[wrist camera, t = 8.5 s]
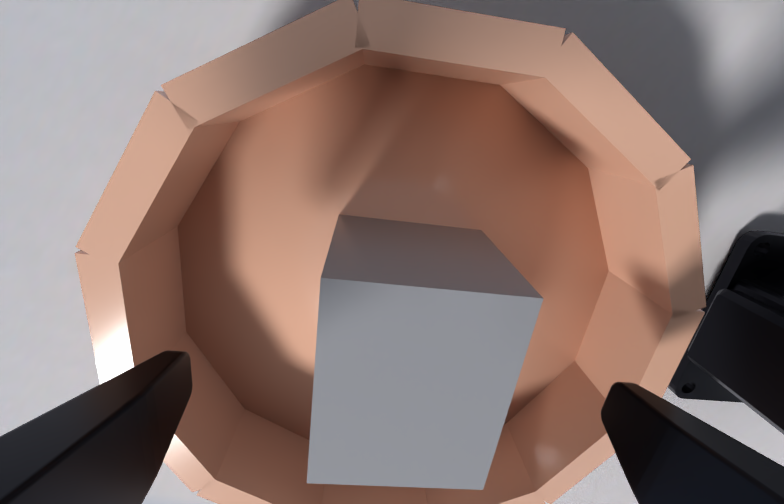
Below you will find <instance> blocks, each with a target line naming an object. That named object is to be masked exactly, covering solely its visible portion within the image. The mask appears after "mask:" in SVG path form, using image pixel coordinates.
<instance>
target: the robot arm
mask: <svg viewBox="0 0 784 504" xmlns="http://www.w3.org/2000/svg"><path fill="white" fill-rule="evenodd" d="M703 311H704V312H705V314H704V316H703V317H702V319H701V321H700V323H699V325H698V327H697V329H696V331H695V333H694V335H693V337H692V339H691V341H690V343H689V345H688V347H687V349H686V351H685V353H684V355H683V357H682V359H681V361H680V363H679V365H678V367H677V369H676V371H675V373H674V375H673V377H672V379H671V381H670V383H669V385H668V388H669V389H670V390H671V391H672V392H674V393H675V394H676V395H677V396H678V397H679V398H684V399H699V400H714V401H729V402H743V403H745V404H746V405H747V406H748V407H750V408H751V409H752V410H754V411H755V412H756V413H757V414H759V415H760V416H761V417H762V418H764V419H765V420H766V421H767V422H769V423H770V424H771V425H772V426H774V427H775V428H776V429H778V430H779V431H780V432H781V433H783V434H784V234H781V233H773V232H765V231H750V232H748V233H746V234H744V235H743V236H742V237H741V238H740V239H739V240H738V241H737V243H736V244H735V246H734V248H733V250H732V252H731V254H730V256H729V258H728V260H727V262H726V264H725V266H724V268H723V270H722V272H721V274H720V276H719V278H718V280H717V282H716V284H715V286H714V288H713V290H712V292H711V294H710V296H709V298H708V300H707V302H706V307H705V308H703ZM192 386H193V384H192V371H191V359H190V355H189V353H187V352H185V351H173V350H166V351H163V352H161V353H159V354H157V355H155V356H154V357H152V358H150V359H148V360H146V361H144V362H142V363H140V364H138V365H136V366H134V367H132V368H131V369H129V370H127V371H125V372H123V373H121V374H119V375H117V376H115V377H113V378H111V379H110V380H108V381H106V382H104V383H102V384H100V385H98V386H96V387H94V388H92V389H90V390H88V391H87V392H85V393H83V394H81V395H79V396H77V397H75V398H73V399H71V400H69V401H67V402H65V403H64V404H62V405H60V406H58V407H56V408H54V409H52V410H50V411H48V412H46V413H44V414H42V415H41V416H39V417H37V418H35V419H33V420H31V421H29V422H27V423H25V424H23V425H21V426H19V427H18V428H16V429H14V430H12V431H10V432H8V433H6V434H4V435H2V436H0V504H142V502H143V501H144V499H145V497H146V495H147V493H148V491H149V490H150V488H151V486H152V484H153V482H154V480H155V478H156V476H157V474H158V472H159V469H160V467H161V465H162V463H163V460H164V458H165V456H166V453H167V451H168V449H169V446H170V444H171V442H172V439H173V437H174V434H175V432H176V430H177V427H178V425H179V423H180V420H181V418H182V415H183V413H184V411H185V408H186V406H187V404H188V401H189V399H190V396H191V393H192ZM601 420H602V423H603V425H604V427H605V430H606V432H607V434H608V437H609V439H610V441H611V444H612V446H613V448H614V450H615V453H616V455H617V457H618V460H619V462H620V464H621V466H622V469H623V471H624V473H625V476H626V478H627V480H628V482H629V485H630V487H631V489H632V491H633V493H634V495H635V497H636V499H637V501H638V503H639V504H784V467H783V466H782V465H780V464H778V463H776V462H774V461H773V460H771V459H769V458H767V457H766V456H764V455H762V454H760V453H758V452H757V451H755V450H753V449H751V448H750V447H748V446H746V445H744V444H742V443H741V442H739V441H737V440H735V439H734V438H732V437H730V436H728V435H726V434H725V433H723V432H721V431H719V430H718V429H716V428H714V427H712V426H711V425H709V424H707V423H705V422H703V421H702V420H700V419H698V418H696V417H695V416H693V415H691V414H689V413H687V412H686V411H684V410H682V409H680V408H679V407H677V406H675V405H673V404H671V403H670V402H668V401H666V400H664V399H663V398H661V397H659V396H657V395H655V394H654V393H652V392H650V391H648V390H647V389H645V388H643V387H641V386H639V385H638V384H635V383H631V382H615V383H614V384H613V385H612V386H611V388H610V390H609V392H608V395H607V397H606V399H605V401H604V404H603V406H602V409H601Z"/></svg>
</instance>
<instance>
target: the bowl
mask: <svg viewBox="0 0 784 504" xmlns="http://www.w3.org/2000/svg"><path fill="white" fill-rule="evenodd" d="M565 30H566V28H560V27H555V26H549V25H543V24H537V23H532V22H526V21H520V20H514V19H508V18H503V17H497V16H491V15H485V14H479V13H474V12H468V11H462V10H456V9H451V8H445V7H439V6H433V5H427V4H422V3H416V2H410V1H404V0H359V4H358V12H357V9H356V7H355V4H354V1H353V0H337V1H335V2H333V3H331V4H329V5H327V6H325V7H323V8H320V9H318V10H316V11H314V12H312V13H310V14H308V15H306V16H304V17H302V18H300V19H298V20H295V21H293V22H291V23H289V24H287V25H285V26H283V27H281V28H279V29H277V30H275V31H273V32H271V33H268V34H266V35H264V36H262V37H260V38H258V39H256V40H254V41H252V42H250V43H248V44H246V45H244V46H241V47H239V48H237V49H235V50H233V51H231V52H229V53H227V54H225V55H223V56H221V57H219V58H216V59H214V60H212V61H210V62H208V63H206V64H204V65H202V66H200V67H198V68H196V69H194V70H192V71H189V72H187V73H185V74H183V75H181V76H179V77H177V78H175V79H173V80H171V81H169V82H167V83H165V84H162V85H161V86H162V88H163V90H164V91H165V92H164V91H155V92H154V94H153V96H152V98H151V100H150V102H149V104H148V106H147V108H146V110H145V112H144V114H143V116H142V118H141V120H140V122H139V124H138V126H137V127H136V129H135V131H134V133H133V135H132V137H131V139H130V141H129V143H128V145H127V147H126V149H125V151H124V153H123V155H122V157H121V159H120V161H119V163H118V165H117V167H116V169H115V171H114V173H113V175H112V176H111V178H110V180H109V182H108V184H107V186H106V188H105V190H104V192H103V194H102V196H101V198H100V200H99V202H98V204H97V206H96V208H95V210H94V212H93V214H92V216H91V218H90V220H89V222H88V224H87V225H86V227H85V229H84V231H83V233H82V235H81V237H80V239H79V241H78V243H77V245H76V247H77V248H78V249H80V251H78V252H76V253H75V257H76V262H77V267H78V272H79V278H80V283H81V288H82V293H83V298H84V304H85V309H86V314H87V319H88V324H89V329H90V335H91V340H92V345H93V350H94V355H95V360H96V366H97V371H98V376H99V381H100V384H102V383H104V382H106V381H108V380H110V379H111V378H113V377H115V376H117V375H119V374H121V373H123V372H125V371H127V370H129V369H131V368H132V367H134V366H136V365H138V364H140V363H142V362H144V361H146V360H148V359H150V358H152V357H154V356H155V355H157V354H159V353H161V352H163V351H166V350H173V351H185V352H187V353H189V355H190V359H191V371H192V384H193V386H192V393H191V396H190V399H189V401H188V404H187V406H186V408H185V411H184V413H183V415H182V418H181V420H180V423H179V425H178V427H177V430H176V432H175V434H174V437H173V439H172V442H171V444H170V446H169V449H168V451H167V453H166V456H165V458H164V460H163V462H164V463H165V464H166V465H167V466H168V467H169V468H170V469H171V470H172V471H173V472H174V473H175V474H176V476H177V477H178V478H179V479H180V480H181V481H182V482H183V483H184V484H185V485H186V486H187V487H188V488H189V489H190V490H191V491H192V492H195V491H198V490H199V491H198V493H197V496H200V497H202V498H205V499H207V500H210V501H213V502H215V503H218V504H545V501H546V502H547V503H549V504H552V503H553V502H554V501H555V500H557V499H558V498H559V497H560V496H562V495H563V494H564V493H565V492H567V491H568V490H569V489H570V488H572V487H573V486H574V485H575V484H577V483H578V482H579V481H581V480H582V479H583V478H584V477H586V476H587V475H588V474H589V473H591V472H592V471H593V470H594V469H596V468H597V467H598V466H599V465H601V464H602V463H603V462H604V461H606V460H607V459H608V458H609V457H611V456H612V455H613V454H615V450H614V448H613V446H612V444H611V441H610V439H609V437H608V434H607V432H606V430H605V427H604V425H603V423H602V420H601V409H602V406H603V404H604V401H605V399H606V397H607V395H608V392H609V390H610V388H611V386H612V385H613V384H614V383H615V382H631V383H635V384H638V385H639V386H641V387H643V388H645V389H647V390H648V391H650V392H652V393H654V394H655V395H657V396H659V397H661V398H662V397H663V395H664V393H665V391H666V389H667V387H668V385H669V383H670V381H671V379H672V377H673V375H674V373H675V371H676V369H677V367H678V365H679V363H680V361H681V359H682V357H683V355H684V353H685V351H686V349H687V347H688V345H689V343H690V341H691V339H692V337H693V335H694V333H695V331H696V329H697V327H698V325H699V323H700V321H701V319H702V317H703V316H704V314H705V312H704V311H703V310H701V309H702V308H705V307H706V297H705V286H704V275H703V264H702V253H701V242H700V231H699V220H698V209H697V198H696V187H695V176H694V165H690V164H687V163H688V162H689V161H690V160H691V159H690V158H689V157H688V155H687V154H686V153H685V152H684V151H683V150H682V149H681V148H680V147H679V146H678V145H677V144H676V143H675V141H674V140H673V139H672V138H671V137H670V136H669V135H668V134H667V133H666V132H665V131H664V130H663V129H662V128H661V126H660V125H659V124H658V123H657V122H656V121H655V120H654V119H653V118H652V117H651V116H650V115H649V114H648V112H647V111H646V110H645V109H644V108H643V107H642V106H641V105H640V104H639V103H638V102H637V101H636V100H635V98H634V97H633V96H632V95H631V94H630V93H629V92H628V91H627V90H626V89H625V88H624V87H623V86H622V85H621V83H620V82H619V81H618V80H617V79H616V78H615V77H614V76H613V75H612V74H611V73H610V72H609V71H608V69H607V68H606V67H605V66H604V65H603V64H602V63H601V62H600V61H599V60H598V59H597V58H596V57H595V55H594V54H593V53H592V52H591V51H590V50H589V49H588V48H587V47H586V46H585V45H584V44H583V43H582V42H581V40H580V39H579V38H578V37H577V36H576V35H575V34H574V33H573V32H572V33H569V34H567V35H564V34H565ZM339 214H341V215H350V216H359V217H368V218H377V219H386V220H395V221H404V222H413V223H422V224H431V225H441V226H450V227H459V228H468V229H477V230H482V231H483V232H484V233H485V235H486V236H487V237H488V238H489V239H490V240H491V241H492V242H493V243H494V245H495V246H496V247H497V248H498V249H499V250H500V251H501V252H502V253H503V254H504V256H505V257H506V258H507V259H508V260H509V261H510V262H511V263H512V264H513V265H514V267H515V268H516V269H517V270H518V271H519V272H520V273H521V274H522V275H523V276H524V278H525V279H526V280H527V281H528V282H529V283H530V284H531V285H532V286H533V287H534V289H535V290H536V291H537V292H538V293H539V294H540V295H541V296H542V297H543V298H544V299H543V302H542V305H541V308H540V311H539V315H538V318H537V321H536V324H535V327H534V330H533V333H532V337H531V340H530V343H529V346H528V349H527V352H526V356H525V359H524V362H523V365H522V368H521V371H520V375H519V378H518V381H517V384H516V387H515V390H514V394H513V397H512V400H511V403H510V406H509V409H508V413H507V416H506V419H505V422H504V425H503V428H502V432H501V435H500V438H499V441H498V444H497V447H496V451H495V454H494V457H493V460H492V463H491V466H490V469H489V473H488V476H487V479H486V482H485V485H484V488H483V490H472V489H445V488H418V487H392V486H365V485H339V484H312V483H307V471H308V456H309V441H310V427H311V412H312V397H313V382H314V368H315V353H316V338H317V323H318V309H319V294H320V279H321V275H322V271H323V268H324V264H325V261H326V257H327V254H328V250H329V247H330V243H331V240H332V236H333V233H334V229H335V226H336V223H337V219H338V216H339Z"/></svg>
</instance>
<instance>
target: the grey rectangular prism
mask: <svg viewBox="0 0 784 504" xmlns="http://www.w3.org/2000/svg"><path fill="white" fill-rule="evenodd" d="M543 299H544V298H543V297H542V296H541V295H540V294H539V293H538V292H537V291H536V290H535V289H534V287H533V286H532V285H531V284H530V283H529V282H528V281H527V280H526V279H525V278H524V276H523V275H522V274H521V273H520V272H519V271H518V270H517V269H516V268H515V267H514V265H513V264H512V263H511V262H510V261H509V260H508V259H507V258H506V257H505V256H504V254H503V253H502V252H501V251H500V250H499V249H498V248H497V247H496V246H495V245H494V243H493V242H492V241H491V240H490V239H489V238H488V237H487V236H486V235H485V233H484V232H483V231H482V230H477V229H468V228H459V227H450V226H441V225H431V224H422V223H413V222H404V221H395V220H386V219H377V218H368V217H359V216H350V215H341V214H339V216H338V219H337V223H336V226H335V229H334V233H333V236H332V240H331V243H330V247H329V250H328V254H327V257H326V261H325V264H324V268H323V271H322V275H321V279H320V294H319V309H318V323H317V338H316V353H315V368H314V382H313V397H312V412H311V427H310V441H309V456H308V471H307V483H312V484H339V485H365V486H392V487H418V488H445V489H472V490H483V488H484V485H485V482H486V479H487V476H488V473H489V469H490V466H491V463H492V460H493V457H494V454H495V451H496V447H497V444H498V441H499V438H500V435H501V432H502V428H503V425H504V422H505V419H506V416H507V413H508V409H509V406H510V403H511V400H512V397H513V394H514V390H515V387H516V384H517V381H518V378H519V375H520V371H521V368H522V365H523V362H524V359H525V356H526V352H527V349H528V346H529V343H530V340H531V337H532V333H533V330H534V327H535V324H536V321H537V318H538V315H539V311H540V308H541V305H542V302H543Z"/></svg>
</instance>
